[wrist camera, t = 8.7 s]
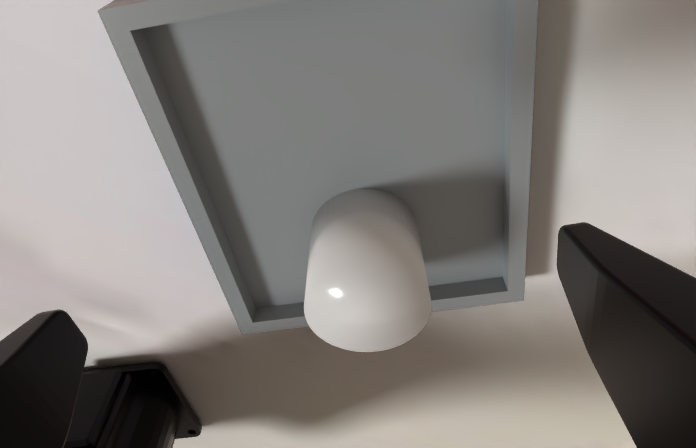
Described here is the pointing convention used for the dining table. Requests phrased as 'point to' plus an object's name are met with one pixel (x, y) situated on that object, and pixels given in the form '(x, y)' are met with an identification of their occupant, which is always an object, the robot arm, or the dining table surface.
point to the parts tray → (340, 132)
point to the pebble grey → (366, 273)
